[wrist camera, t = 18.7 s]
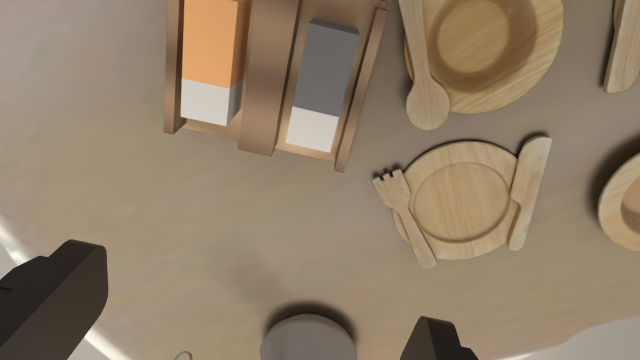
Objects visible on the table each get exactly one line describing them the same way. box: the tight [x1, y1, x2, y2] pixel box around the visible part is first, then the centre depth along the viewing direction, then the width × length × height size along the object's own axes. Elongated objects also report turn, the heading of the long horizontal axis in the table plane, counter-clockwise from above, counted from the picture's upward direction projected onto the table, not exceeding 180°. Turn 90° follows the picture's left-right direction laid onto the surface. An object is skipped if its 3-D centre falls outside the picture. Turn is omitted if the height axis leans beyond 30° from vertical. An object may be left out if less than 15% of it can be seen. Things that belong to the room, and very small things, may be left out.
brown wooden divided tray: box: [164, 0, 388, 173], centre depth 31 cm, size 14×16×4 cm
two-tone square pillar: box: [286, 18, 360, 153], centre depth 30 cm, size 9×4×4 cm, turn 168°
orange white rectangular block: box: [181, 0, 252, 126], centre depth 30 cm, size 9×4×4 cm, turn 169°
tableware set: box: [372, 0, 640, 269], centre depth 32 cm, size 35×29×4 cm
